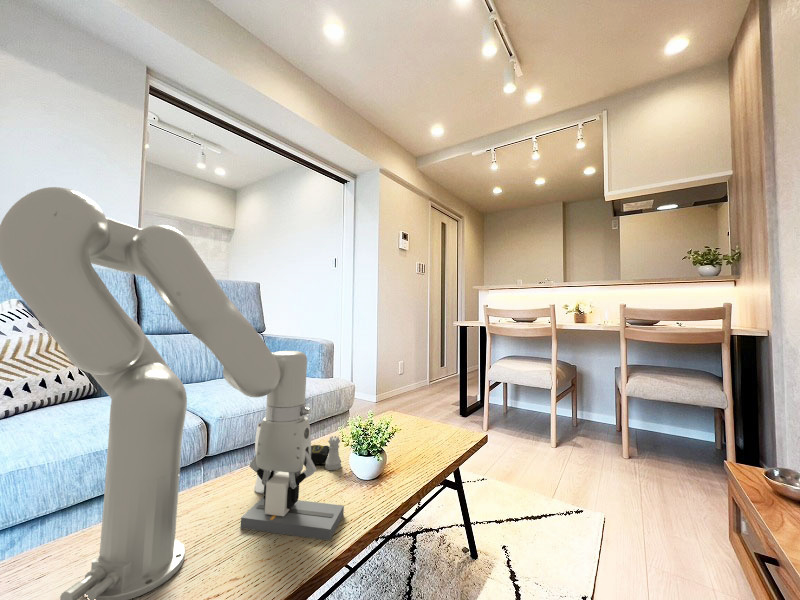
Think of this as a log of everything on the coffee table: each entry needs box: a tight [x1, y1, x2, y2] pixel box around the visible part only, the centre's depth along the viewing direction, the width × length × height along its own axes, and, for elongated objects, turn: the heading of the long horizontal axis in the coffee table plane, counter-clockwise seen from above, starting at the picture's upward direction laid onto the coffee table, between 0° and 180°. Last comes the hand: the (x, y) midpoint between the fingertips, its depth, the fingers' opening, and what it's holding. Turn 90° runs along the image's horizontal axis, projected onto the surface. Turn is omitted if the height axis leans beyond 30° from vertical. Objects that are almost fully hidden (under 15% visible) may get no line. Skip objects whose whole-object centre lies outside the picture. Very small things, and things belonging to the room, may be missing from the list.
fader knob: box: [265, 472, 290, 516], centre depth 68 cm, size 5×4×6 cm
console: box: [240, 495, 345, 541], centre depth 67 cm, size 8×18×2 cm, turn 82°
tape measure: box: [311, 444, 330, 465], centre depth 95 cm, size 7×7×4 cm
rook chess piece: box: [324, 435, 342, 471], centre depth 92 cm, size 4×4×8 cm
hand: (280, 503), depth 68 cm, fingers closed on fader knob, 4 cm apart
